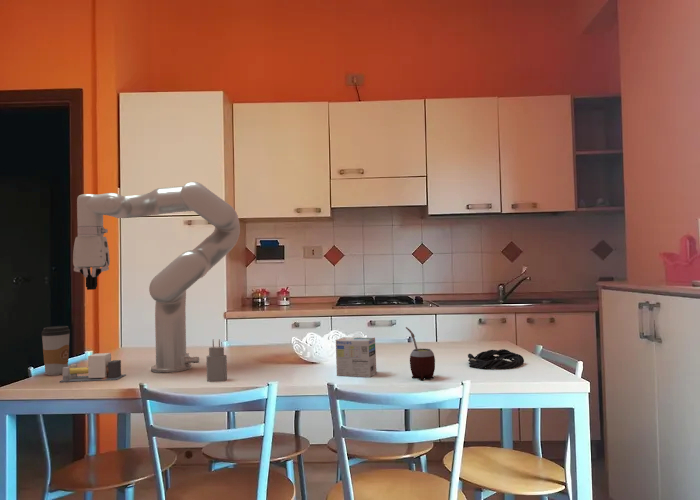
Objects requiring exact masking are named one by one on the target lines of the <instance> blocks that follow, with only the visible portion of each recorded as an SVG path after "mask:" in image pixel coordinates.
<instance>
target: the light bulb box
mask: <svg viewBox="0 0 700 500" xmlns="http://www.w3.org/2000/svg"><path fill="white" fill-rule="evenodd" d="M376 353H377V351H376V337H361V336H360V337H354V336H353V337H349V336H348V337H346V336H345V337H344V336H342V337H340V338H337V339H335V357H336V358H335V359H336V376H338V377H360V378H364V377H365V378H371V377H372V376H373V375H375V374H376V373H377V354H376Z"/></svg>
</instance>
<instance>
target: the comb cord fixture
mask: <svg viewBox="0 0 700 500" xmlns="http://www.w3.org/2000/svg"><path fill="white" fill-rule="evenodd" d="M106 373H108V376H107V377H105V378H88V375H82V374H88V366H87V367H78V364H77V363H75V364H70V365H69V366H68V367H64V368H63V374H62V379H61V380H59V383H75V382H77V383H78V382H81V381H82V382H103V381H104V382H105V381H107V382H108V381H118V380H120V379H122V378H124V377H125V376H127V374H122V360H121V359H116V360H115V359H113V360H111V361H110V362H108V366H106ZM79 374H80V375H79Z"/></svg>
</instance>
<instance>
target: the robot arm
mask: <svg viewBox="0 0 700 500" xmlns="http://www.w3.org/2000/svg"><path fill="white" fill-rule="evenodd" d="M76 202H77V203H76V208H77V209H76V213H77V218H76V219H77V236H75V239H74V243H73V244H74V245H73V253H72V265H73V272H76V273H81V274H82V275H83V277H84V278H85V287H86V289H87V291H89V290H96V289H97V288H98V277H99V276H100V275H101V274H102V273H104V272H107V271H109V270H110V268H109V266H110V262H111V260H110V259H111V258H110V248H109V244H108V243H109V242H108V238H107V236H105V234H107V233H108V228H105V227H104V216H109V217H113V218H116V219H129V218H130V219H131V218H140V217H141V218H142V217H148V216H159V215H163V214H164V215H165V214H175V213H183V212H184V213H185V212H194V213H196V214H197V215H198V216H200V218H202V219H204V220H206V221H207V222H208V223H209V224H211V225H212V226H213V227H214V230H213V231H212V233H211V234H209V236H207V237H206V238H205V239H204V240H203V241H201V242H200V244H198V245H197V246H195V248H193V249H192V250H187V251H184V252H182V253H181V254H180V255H178V256H177V257H176V258H175V259H174V260H172V262H170V263H169V264H168V265H166V266H165V268H163V269H162V270H161V271H160V272H159V273H157V274H156V275H155V276H154V277H153V278H152V280H151V282H150V283H149V286H148V287H149V288H148V289H149V290H148V291H149V295H150V297H151V298H152V299H153V300H154V301H155V306H154V318H155V319H154V324H155V325H154V328H155V329H154V330H155V365H152V366H151V367H150V371H151V372H153V373H162V374H163V373H176V372H182V371H187V370H189V369H191V368H192V364H200V357H199V356H190V353H188V352H187V324H186V320H187V319H186V318H187V317H186V313H187V312H186V306H187V305H186V299H187V290H188V289H189V288H190V287H191V286H193V285H194V284H195V283H196V282H197V281H199V280H200V279H203V277H204V276H206V275H207V273H208V272H209V271H210V270H212V268H213V267H215V266H216V265H217V264H218V263H219V262H220V261H221V260H222V259H223V258H225V256H227V255H228V253H230V252H231V251H232V250H233V248H234V247H236V245H237V243H238V240H239V238H240V236H241V235H240V234H241V227H240V226H241V225H240V219H239V215H238V214H237V211H236V210H235V207H233V206H232V205H231V204H230V203H229V202H227V201H225V200H223V199H222V198H221V197H220V196H218V195H217V194H215V193H214V192H212V191H211V190H209V188H207V187H206V186H205V185H203V184H202V183H200V182H197V181H189V182H186V184H184V185H180V186H170V187H158V188H155V189H153V190H151V191H149V192H147V193H144V194H143V193H142V194H139V195H122V194H119V193H117V192H107V193H101V194H100V193H99V194H96V193H95V194H93V193H83V194H80V195H78V196H77V199H76ZM91 268H92V269H91Z"/></svg>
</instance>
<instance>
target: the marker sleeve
mask: <svg viewBox="0 0 700 500" xmlns="http://www.w3.org/2000/svg"><path fill="white" fill-rule="evenodd" d="M110 361H112V353H111V352H107V353H105V352H104V353H99V352H98V353H92V354H91V355H88V356H87V367H88V373H87V374H88V375H87V376H88V378H105V377H107V376H108V373H106V366H108V362H110Z"/></svg>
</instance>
